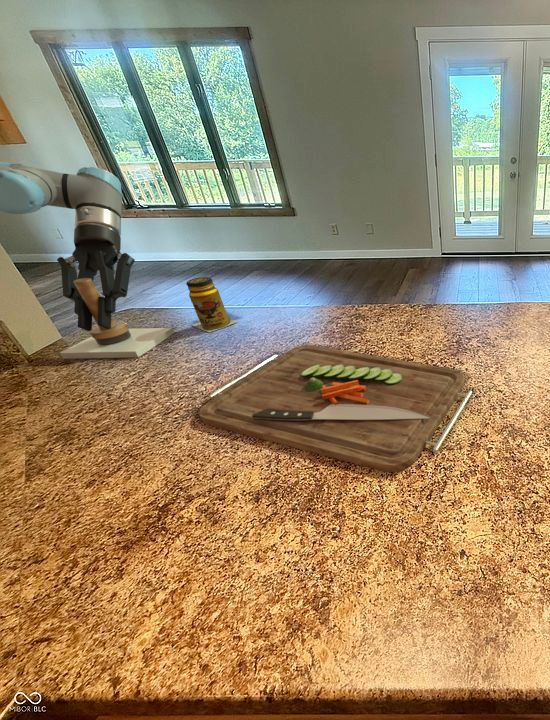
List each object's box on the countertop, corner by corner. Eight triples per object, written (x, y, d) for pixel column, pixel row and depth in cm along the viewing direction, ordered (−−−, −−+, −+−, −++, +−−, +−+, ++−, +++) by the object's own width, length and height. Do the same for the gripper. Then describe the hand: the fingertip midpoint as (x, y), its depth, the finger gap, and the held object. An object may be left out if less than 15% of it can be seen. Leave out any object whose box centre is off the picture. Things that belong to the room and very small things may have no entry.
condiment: (209, 333, 93) (190, 286, 87) (191, 325, 97) (172, 280, 91) (238, 322, 99) (222, 277, 93) (220, 315, 102) (204, 272, 96)
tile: (63, 358, 82) (59, 352, 82) (108, 334, 93) (105, 328, 92) (138, 357, 83) (135, 351, 82) (174, 333, 93) (172, 327, 93)
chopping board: (481, 379, 74) (481, 366, 73) (421, 481, 52) (420, 465, 51) (294, 346, 87) (290, 334, 85) (182, 417, 65) (174, 403, 63)
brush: (88, 345, 84) (52, 285, 77) (111, 333, 90) (79, 275, 83) (117, 345, 84) (84, 284, 77) (139, 332, 90) (109, 275, 83)
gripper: (40, 224, 82) (32, 326, 76) (127, 220, 85) (126, 316, 80) (69, 244, 89) (64, 338, 83) (149, 239, 92) (148, 329, 87)
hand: (94, 327), depth 82 cm, fingers closed on brush, 3 cm apart
